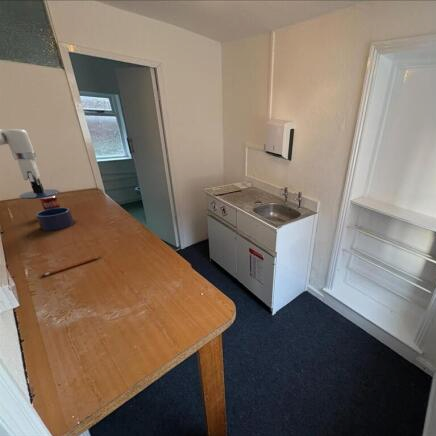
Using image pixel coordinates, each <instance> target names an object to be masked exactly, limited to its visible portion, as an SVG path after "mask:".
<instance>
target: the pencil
mask: <svg viewBox="0 0 436 436" xmlns="http://www.w3.org/2000/svg"><path fill="white" fill-rule="evenodd" d="M99 258H100V256H98V257H97V256H96V257H92V258H89V259H86V260H84V261H80V262H77V263H75V264H71V265H68V266H64V267H62V268H58V269H56V270H51V271H49V272H46V273H43V274H42V277H46V276H49V275H53V274H55V273H58V272H59V273H60V272H62V271H64V270H65V271H66V270H68V269H71V268H74V267H77V266H80V265H83V264H86V263H88V262H92V261H95V260H98V259H99Z"/></svg>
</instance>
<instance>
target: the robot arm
mask: <svg viewBox="0 0 436 436" xmlns="http://www.w3.org/2000/svg"><path fill="white" fill-rule="evenodd" d="M3 145H4V146H5V145H8V147H9V149H10V151H11V154H12V157H13V159H14V160H15V161H17V162H18V166H19V170H20V172H21V175H22V178H23V180H24V181H28V180H29V183H30V186H31V189H32V191H34V193H43V191H44V190H45V189H44V187H43V184H42V182H41V179H40V177H41V174H40V170H39V168H38V165H37V163H36V159H38V157H37V155H36V152H35V150H34V147H33V144H32V142H31V138H30V136H29V134H28V132H27V131H26V129H21V128H7V129H4V128H0V146H3ZM39 182H40V184H41V185H39ZM41 186H42V188H41ZM42 189H43V190H42Z"/></svg>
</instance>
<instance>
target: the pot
mask: <svg viewBox="0 0 436 436" xmlns="http://www.w3.org/2000/svg"><path fill="white" fill-rule="evenodd" d="M35 217H36V219H37V222H38V224H39V227H40V229H41V230H42V231H48V232H49V231H58V230H62V229H66V228H69V227H71V226H72V225H74V223H75V221H74V218H73V215H72V212H71V209H70V208H68V207H60V208H52V209H47V210H44V209H43V210H41V211H38V212H36V213H35Z"/></svg>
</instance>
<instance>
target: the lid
mask: <svg viewBox="0 0 436 436" xmlns="http://www.w3.org/2000/svg"><path fill="white" fill-rule="evenodd" d="M40 182H41V181H40ZM40 182H39V185H41V184H42V183H41V184H40ZM42 186H43V185H42ZM42 186H41V188H42ZM43 189H44V188H43ZM43 189H42V190H43ZM59 193H60V190H59V189H44V191H43V193H34V191H33V190H32V191H31V190H30V191H28V192H27V191H26V192H23V193H21V194H19V198H20V199H24V200H36V199H40V198H45V197H49V196H53V195H55V196H56V195H58V194H59Z"/></svg>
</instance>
